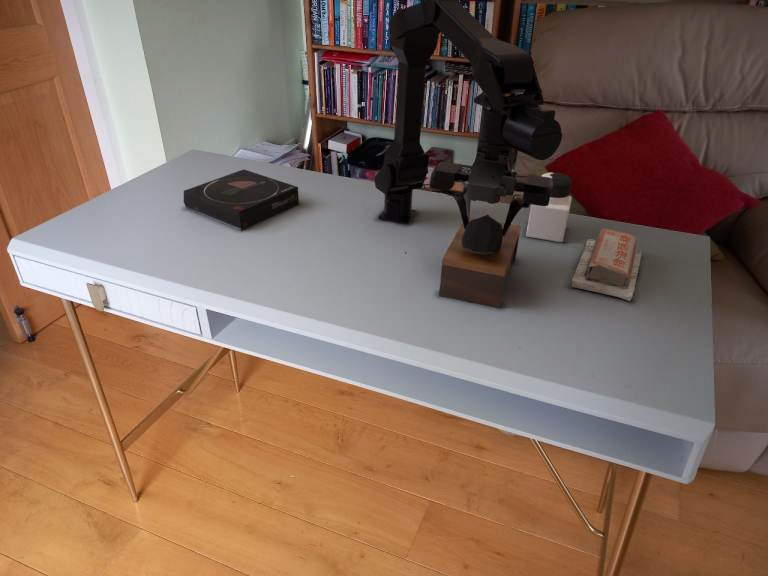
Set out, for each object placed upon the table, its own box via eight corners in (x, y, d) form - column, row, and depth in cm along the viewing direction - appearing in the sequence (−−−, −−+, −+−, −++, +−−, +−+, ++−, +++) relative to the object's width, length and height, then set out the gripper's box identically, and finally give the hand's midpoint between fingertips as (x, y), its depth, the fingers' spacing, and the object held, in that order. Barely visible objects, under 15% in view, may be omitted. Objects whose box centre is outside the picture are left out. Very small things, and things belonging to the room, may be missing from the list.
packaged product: (591, 222, 112) (647, 233, 108) (586, 245, 114) (640, 257, 111) (575, 263, 98) (638, 277, 94) (569, 288, 100) (631, 303, 97)
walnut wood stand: (461, 250, 111) (465, 216, 107) (515, 260, 108) (521, 225, 104) (438, 295, 97) (442, 258, 93) (499, 308, 94) (505, 270, 91)
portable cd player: (243, 185, 135) (241, 168, 133) (298, 204, 127) (297, 187, 125) (184, 207, 124) (181, 189, 121) (241, 230, 115) (239, 211, 113)
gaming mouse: (506, 221, 104) (510, 200, 102) (498, 260, 92) (501, 237, 90) (471, 216, 105) (473, 195, 103) (458, 254, 93) (460, 231, 91)
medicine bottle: (565, 228, 120) (577, 172, 114) (562, 243, 115) (574, 185, 108) (530, 222, 122) (539, 167, 116) (525, 237, 116) (535, 179, 110)
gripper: (423, 146, 86) (417, 242, 94) (554, 165, 81) (535, 264, 89) (442, 126, 95) (435, 215, 103) (561, 141, 90) (543, 233, 98)
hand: (484, 231), depth 98 cm, fingers closed on gaming mouse, 6 cm apart
